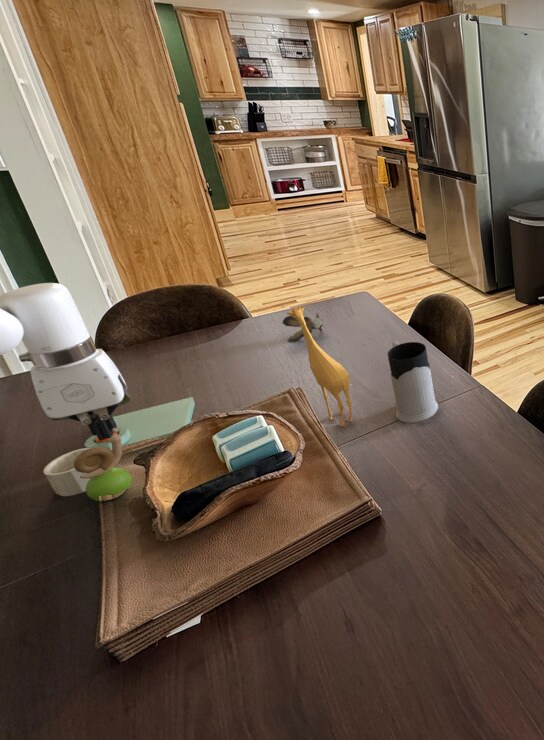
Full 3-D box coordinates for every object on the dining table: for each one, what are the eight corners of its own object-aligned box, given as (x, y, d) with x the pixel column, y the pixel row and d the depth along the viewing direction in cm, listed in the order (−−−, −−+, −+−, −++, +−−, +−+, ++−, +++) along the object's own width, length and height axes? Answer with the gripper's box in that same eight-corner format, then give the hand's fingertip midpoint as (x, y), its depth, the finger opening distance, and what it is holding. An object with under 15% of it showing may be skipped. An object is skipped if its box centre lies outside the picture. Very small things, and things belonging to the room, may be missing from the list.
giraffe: (305, 408, 104) (275, 305, 95) (325, 398, 108) (298, 298, 98) (346, 435, 96) (318, 326, 86) (366, 424, 99) (341, 317, 90)
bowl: (50, 503, 80) (37, 480, 78) (63, 478, 85) (51, 456, 83) (103, 486, 83) (92, 465, 81) (113, 464, 89) (102, 442, 87)
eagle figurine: (315, 321, 141) (280, 326, 134) (319, 306, 137) (283, 310, 130) (323, 341, 138) (287, 347, 131) (327, 326, 134) (291, 332, 127)
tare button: (96, 449, 89) (93, 443, 88) (100, 440, 91) (97, 434, 91) (117, 443, 91) (114, 437, 90) (121, 434, 93) (118, 428, 92)
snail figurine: (149, 488, 83) (122, 433, 79) (100, 513, 78) (68, 457, 73) (136, 476, 86) (110, 422, 81) (88, 500, 81) (57, 444, 76)
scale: (88, 466, 88) (80, 451, 87) (107, 426, 98) (100, 412, 97) (187, 437, 95) (181, 423, 94) (195, 403, 106) (189, 390, 104)
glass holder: (404, 428, 98) (392, 366, 92) (383, 396, 108) (371, 339, 103) (444, 411, 103) (435, 352, 98) (420, 383, 113) (411, 327, 108)
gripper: (-8, 375, 77) (45, 462, 84) (117, 349, 84) (155, 431, 91) (11, 355, 82) (59, 438, 90) (126, 332, 90) (161, 411, 97)
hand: (107, 434), depth 90 cm, fingers closed
